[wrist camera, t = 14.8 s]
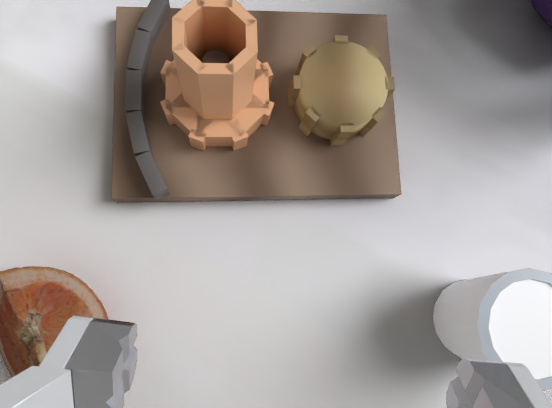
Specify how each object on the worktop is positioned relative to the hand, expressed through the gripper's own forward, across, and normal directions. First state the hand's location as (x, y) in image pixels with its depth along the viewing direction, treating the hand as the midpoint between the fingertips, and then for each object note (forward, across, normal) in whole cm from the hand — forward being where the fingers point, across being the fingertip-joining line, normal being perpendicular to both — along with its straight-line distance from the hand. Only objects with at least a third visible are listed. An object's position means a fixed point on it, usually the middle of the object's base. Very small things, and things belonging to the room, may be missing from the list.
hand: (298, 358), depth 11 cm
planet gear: (+23, +5, 0) cm, 24 cm away
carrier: (+25, +2, 0) cm, 25 cm away
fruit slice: (+14, +13, +14) cm, 24 cm away
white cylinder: (+17, -15, +12) cm, 26 cm away
